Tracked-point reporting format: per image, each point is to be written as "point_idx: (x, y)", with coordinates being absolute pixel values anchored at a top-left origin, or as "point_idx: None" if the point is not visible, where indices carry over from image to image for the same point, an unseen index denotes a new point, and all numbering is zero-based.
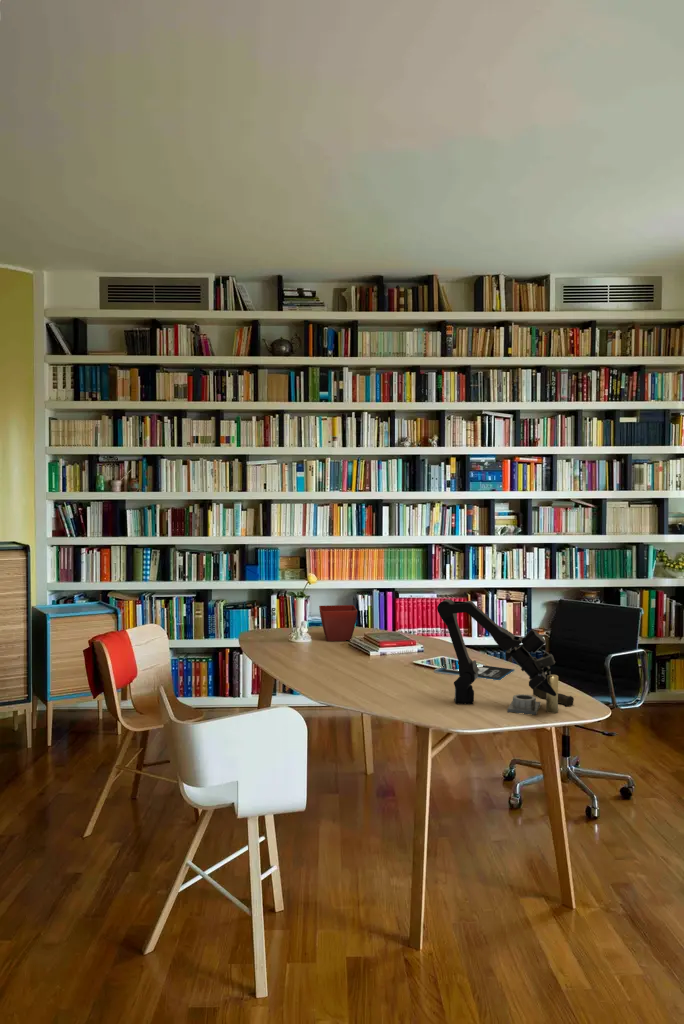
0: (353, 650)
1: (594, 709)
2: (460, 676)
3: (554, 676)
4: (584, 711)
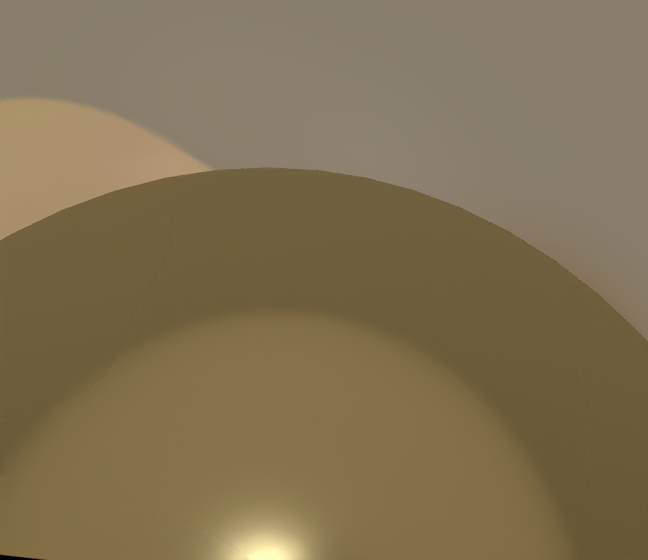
0: None
1: (12, 150)
2: None
3: (413, 388)
4: None
